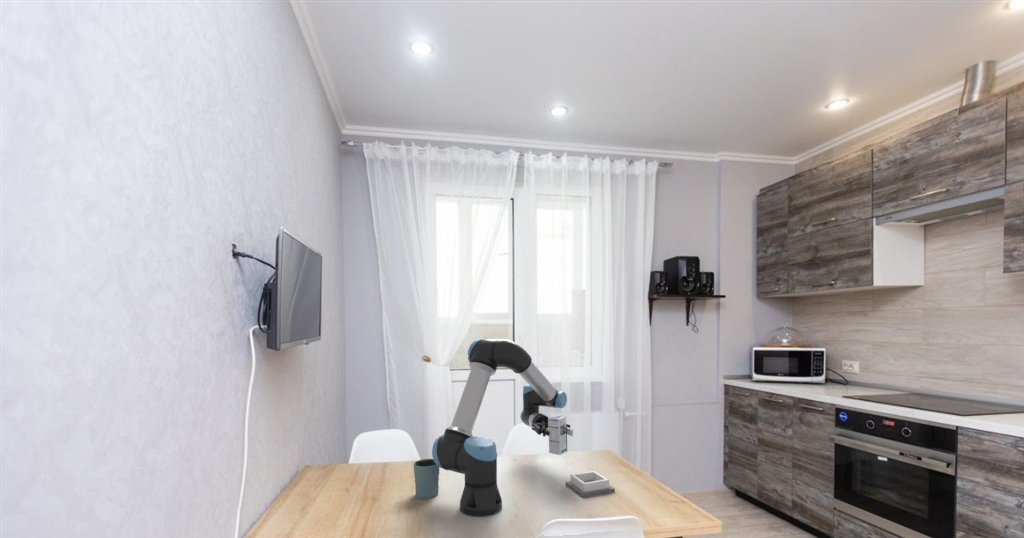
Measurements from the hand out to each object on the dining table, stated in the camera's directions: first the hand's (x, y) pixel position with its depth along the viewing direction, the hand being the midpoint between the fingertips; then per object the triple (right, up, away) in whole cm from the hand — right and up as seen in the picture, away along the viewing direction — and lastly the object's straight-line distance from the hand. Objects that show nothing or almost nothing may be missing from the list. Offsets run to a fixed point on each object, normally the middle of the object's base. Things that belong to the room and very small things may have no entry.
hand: (563, 434), depth 183 cm
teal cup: (-54, -20, -10) cm, 59 cm away
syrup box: (-2, -9, +4) cm, 10 cm away
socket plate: (+10, -19, -6) cm, 22 cm away
